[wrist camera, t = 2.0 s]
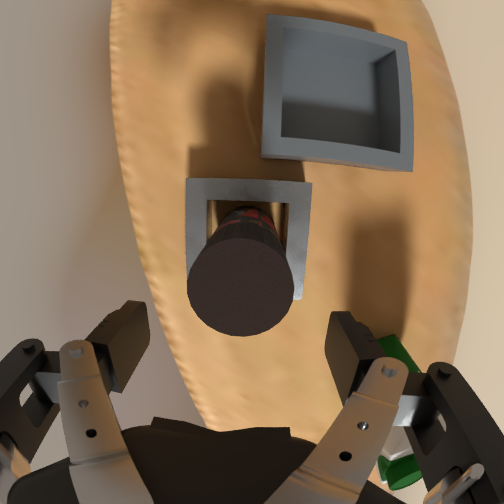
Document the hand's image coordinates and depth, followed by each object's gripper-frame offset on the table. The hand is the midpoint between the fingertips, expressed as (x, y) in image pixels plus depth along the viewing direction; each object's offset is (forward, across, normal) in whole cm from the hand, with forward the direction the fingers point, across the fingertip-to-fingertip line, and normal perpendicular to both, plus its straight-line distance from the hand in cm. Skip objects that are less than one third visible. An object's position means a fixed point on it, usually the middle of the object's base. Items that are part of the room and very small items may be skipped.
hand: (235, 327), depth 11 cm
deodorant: (+19, 0, 0) cm, 19 cm away
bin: (+19, -8, -15) cm, 25 cm away
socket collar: (+19, 0, 0) cm, 19 cm away
